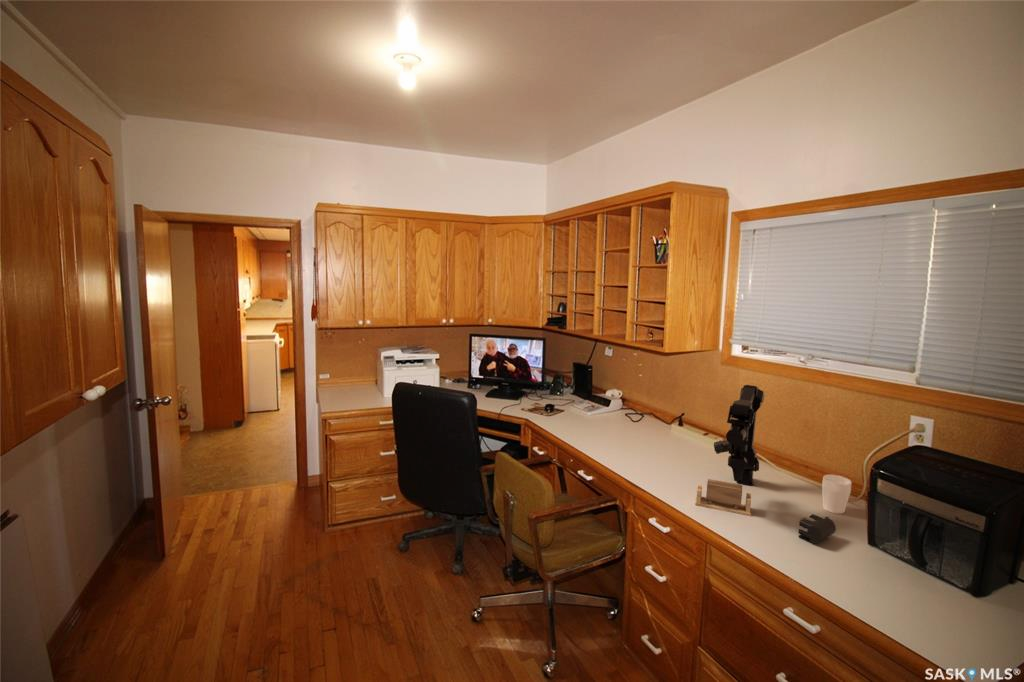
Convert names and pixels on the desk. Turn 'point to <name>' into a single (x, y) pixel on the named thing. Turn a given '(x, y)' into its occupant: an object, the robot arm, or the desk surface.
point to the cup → (835, 493)
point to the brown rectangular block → (724, 492)
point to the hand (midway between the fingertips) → (736, 475)
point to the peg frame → (724, 504)
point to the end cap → (816, 529)
